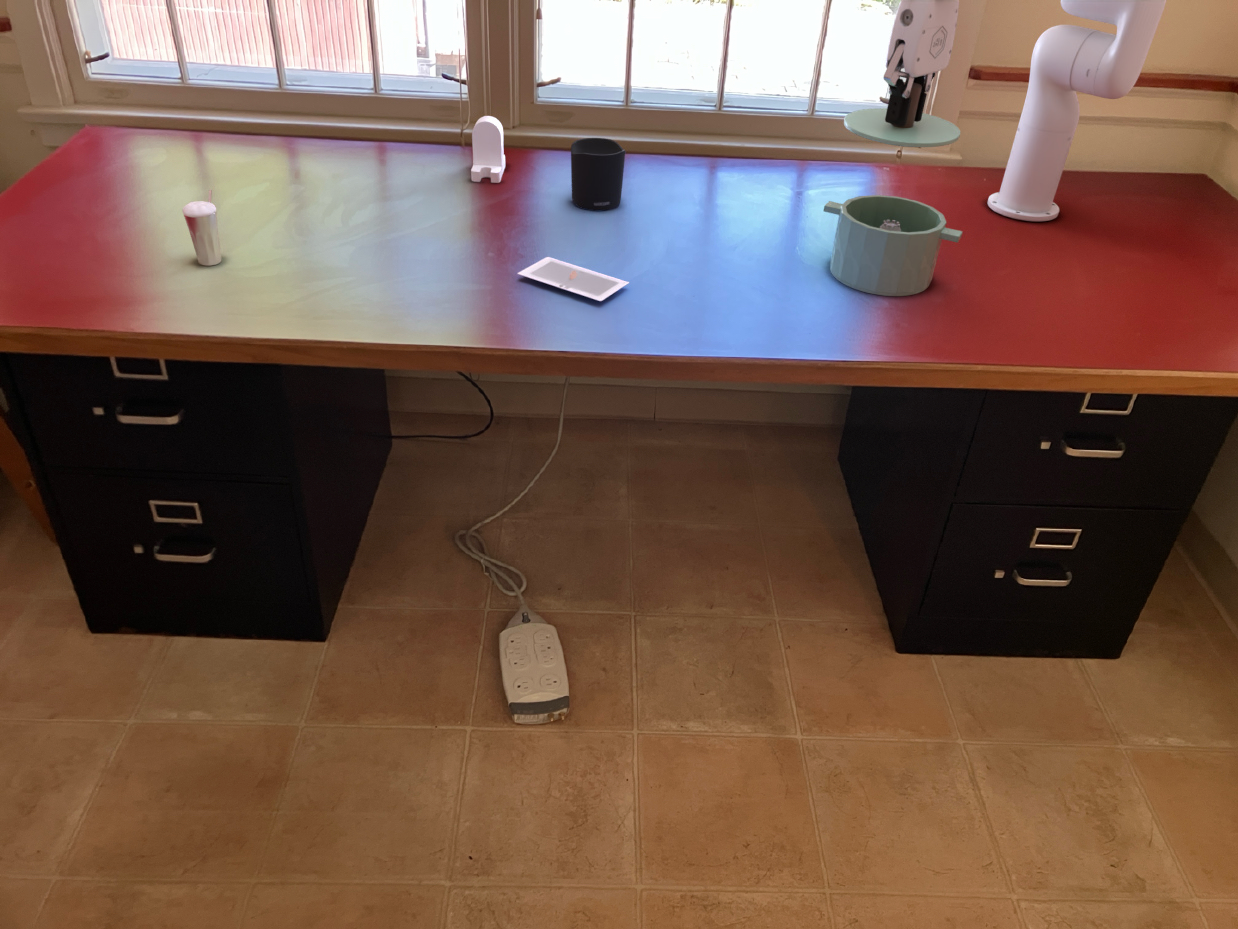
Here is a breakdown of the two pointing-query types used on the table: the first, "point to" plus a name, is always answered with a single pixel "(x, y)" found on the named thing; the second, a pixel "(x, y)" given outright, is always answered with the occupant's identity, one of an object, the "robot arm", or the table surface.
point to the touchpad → (573, 278)
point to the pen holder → (597, 173)
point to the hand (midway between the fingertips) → (902, 120)
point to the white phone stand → (488, 150)
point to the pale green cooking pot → (887, 244)
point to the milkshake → (203, 230)
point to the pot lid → (912, 134)
